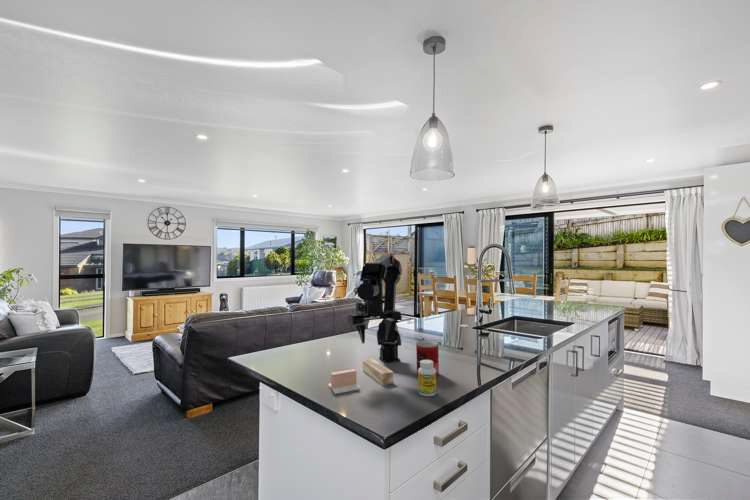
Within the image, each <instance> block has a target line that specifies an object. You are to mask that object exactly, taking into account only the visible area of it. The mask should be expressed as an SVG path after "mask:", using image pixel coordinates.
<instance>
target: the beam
mask: <svg viewBox="0 0 750 500" xmlns="http://www.w3.org/2000/svg"><path fill="white" fill-rule="evenodd" d="M362 372H363V373H365V374H367V375H368V376H370V378H372V379H373V380H375V381H376V382H377V383H379V384H380V385H382V386H386V385H392V384H394V371H392V370H391V369H390V368H388V367H386V366H385V365H383V364H381V363H379V362H378V361H377V360H375V359H373V358H371V359H363V360H362Z"/></svg>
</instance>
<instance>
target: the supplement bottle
mask: <svg viewBox="0 0 750 500" xmlns="http://www.w3.org/2000/svg"><path fill="white" fill-rule="evenodd" d="M420 366H421V367H420V368H419V369H418V374H417V385H418V388H417V389H418V393H419V395H420V396H424V397H432V396H435V395H436V394H437V376H436V370H435V369H434V368H433V361H431V360H421V361H420Z"/></svg>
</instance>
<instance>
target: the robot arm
mask: <svg viewBox="0 0 750 500" xmlns="http://www.w3.org/2000/svg"><path fill="white" fill-rule="evenodd" d="M361 269H362V270H361V273H360V279H359V281H360V282H362V283H361V284H360V285H359V286H358V287H357V290H356V293H357V296H358V297H359V298H360V300H362V301H364V304H363V303H362V302H356V303H355V312H356V313H349V314H348V315H347V317H346V318H347V323H349V324H351V325H352V326H354V327H355V328H356V330H357V333H358V335H359V338H360V341H361V343H362V344H365V340H366V339H365V337H366V324H365V323H364V322H366V321H373V320H375V321H376V320H381V322H379V323H378V329H377V331H376V338H377V339H376V340H377V341H376V342H377V345H378V346H380V347H379V357H378V359H380V360H381V361H383V362H384V363H392V362H399V361H401V358H399V346H402V337H401V334H400V332H399V327H398V325H397V323H399V321H402V319H403V318H402V317H403V314H402V313H401V311H399V310H396V295H397V294H396V293H397V285H398V284H399V282H400V280H401V276H402V275H403V267H402V264H401V262H400V260H398V259H396V258H395V256H394V255H393V254H381V255H380V256H379V257H378V258H377V259H375V260H369V261H368V260H367V261H365V262H364V264H363V265H362V268H361ZM383 282H384V284H385V286H384V285H383ZM384 287H385V288H384ZM383 288H384V290H383ZM383 291H384V292H383Z"/></svg>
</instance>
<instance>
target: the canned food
mask: <svg viewBox="0 0 750 500" xmlns="http://www.w3.org/2000/svg"><path fill="white" fill-rule="evenodd" d="M415 349H416V350H415V351H416V373H417V375H418V369H419V368H420V367H421V366H420V361H421V360H431V361H433V368H434V369H435V370H436V377H437V376H438V375H439V371H440V370H439V369H440V367H439V366H440V364H439V363H440V362H439V358H440V357H439V342H437V341H435V340H430V339H429V340H428V339H426V340H419V341H416V348H415Z"/></svg>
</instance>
